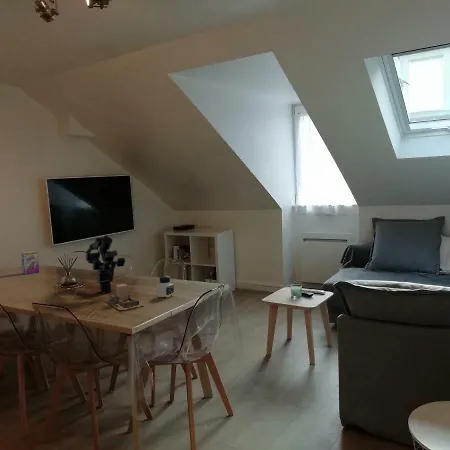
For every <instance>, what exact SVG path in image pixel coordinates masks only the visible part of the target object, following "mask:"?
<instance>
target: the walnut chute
mask: <svg viewBox="0 0 450 450" xmlns="http://www.w3.org/2000/svg"><path fill="white" fill-rule="evenodd" d="M109 295H110V296H109V297H110V298H109V299H105V302H106V301H107V302H108V303H107V302H106V303H107V304H109V303H110V304H111V305H113V306H115V307H116V308H117V307H118V305H116V304H119V305H120V306H122V307H123V308H129V307H133V306H137V305H139V302H140V300H139V299H136V298H134V297H132V296H131V294H129V293H128V300H129V301H130V302H126V303H125V302H123V301H121V300H120V299H118V297H117V295H116V296H115V295H113V294H109ZM110 304H109V305H110ZM111 305H110V306H111ZM113 306H112V307H113ZM116 308H115V309H116Z"/></svg>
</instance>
